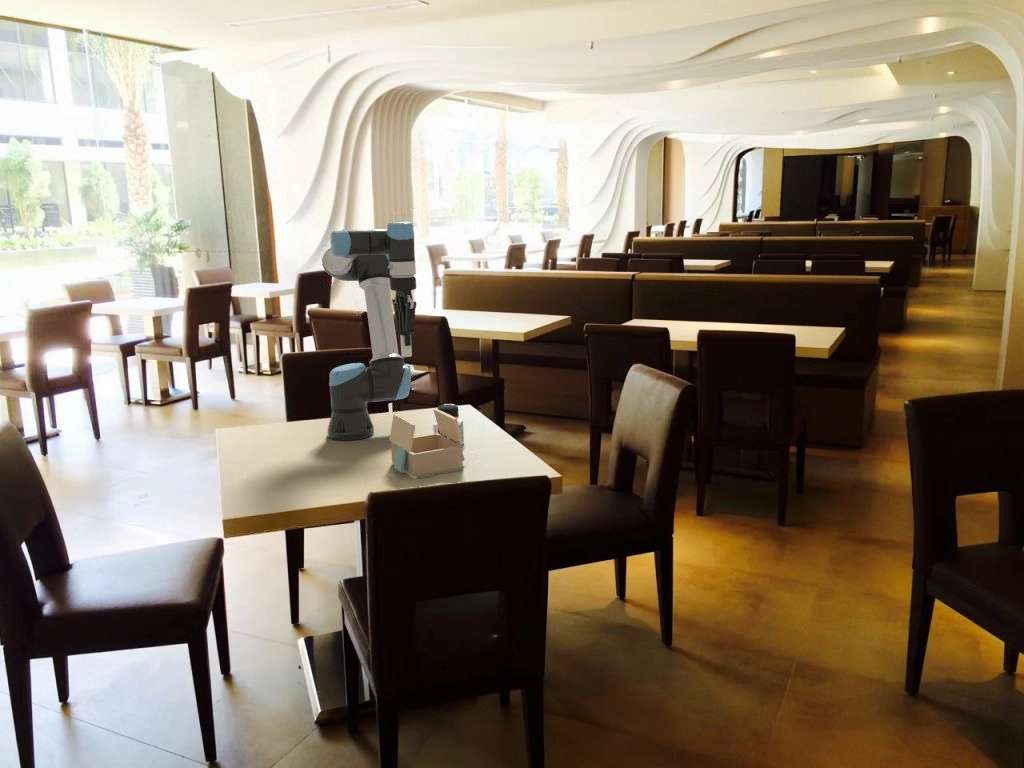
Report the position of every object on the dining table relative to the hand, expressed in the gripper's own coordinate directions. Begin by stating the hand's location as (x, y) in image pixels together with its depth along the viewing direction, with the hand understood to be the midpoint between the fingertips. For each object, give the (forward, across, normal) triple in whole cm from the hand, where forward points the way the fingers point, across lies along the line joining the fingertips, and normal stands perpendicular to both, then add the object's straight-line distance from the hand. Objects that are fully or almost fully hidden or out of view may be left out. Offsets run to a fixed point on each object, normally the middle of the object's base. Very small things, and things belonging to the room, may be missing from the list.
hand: (406, 356), depth 242 cm
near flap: (+23, +14, -9) cm, 28 cm away
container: (+31, -3, +14) cm, 34 cm away
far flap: (+23, +14, +7) cm, 27 cm away
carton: (+30, +14, -1) cm, 33 cm away
